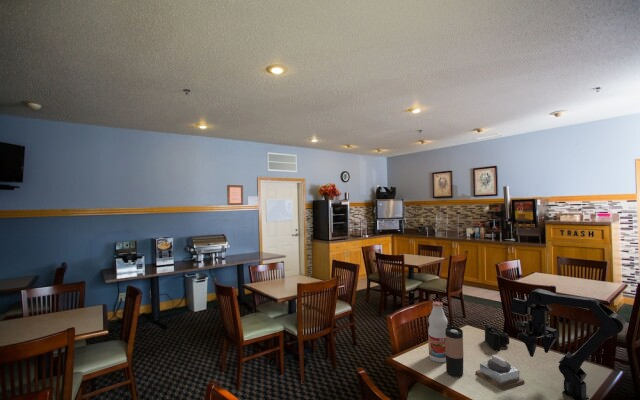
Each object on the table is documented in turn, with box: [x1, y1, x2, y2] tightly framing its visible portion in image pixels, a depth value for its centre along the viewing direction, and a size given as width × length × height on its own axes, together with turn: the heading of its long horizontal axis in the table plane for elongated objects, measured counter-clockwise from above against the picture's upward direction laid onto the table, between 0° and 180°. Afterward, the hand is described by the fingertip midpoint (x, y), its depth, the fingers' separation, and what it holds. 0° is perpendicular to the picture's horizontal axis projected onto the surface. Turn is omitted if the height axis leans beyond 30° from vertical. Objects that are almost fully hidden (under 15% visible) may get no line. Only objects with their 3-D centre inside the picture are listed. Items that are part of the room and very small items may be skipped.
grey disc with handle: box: [487, 354, 512, 372], centre depth 146 cm, size 9×9×7 cm
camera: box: [484, 323, 510, 352], centre depth 177 cm, size 14×11×10 cm
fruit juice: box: [427, 301, 449, 363], centre depth 164 cm, size 9×9×28 cm
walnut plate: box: [475, 369, 526, 391], centre depth 146 cm, size 14×13×1 cm
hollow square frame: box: [479, 360, 521, 385], centre depth 146 cm, size 11×11×4 cm
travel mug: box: [445, 326, 464, 378], centre depth 150 cm, size 8×8×20 cm
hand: (538, 354), depth 142 cm, fingers open, 9 cm apart
